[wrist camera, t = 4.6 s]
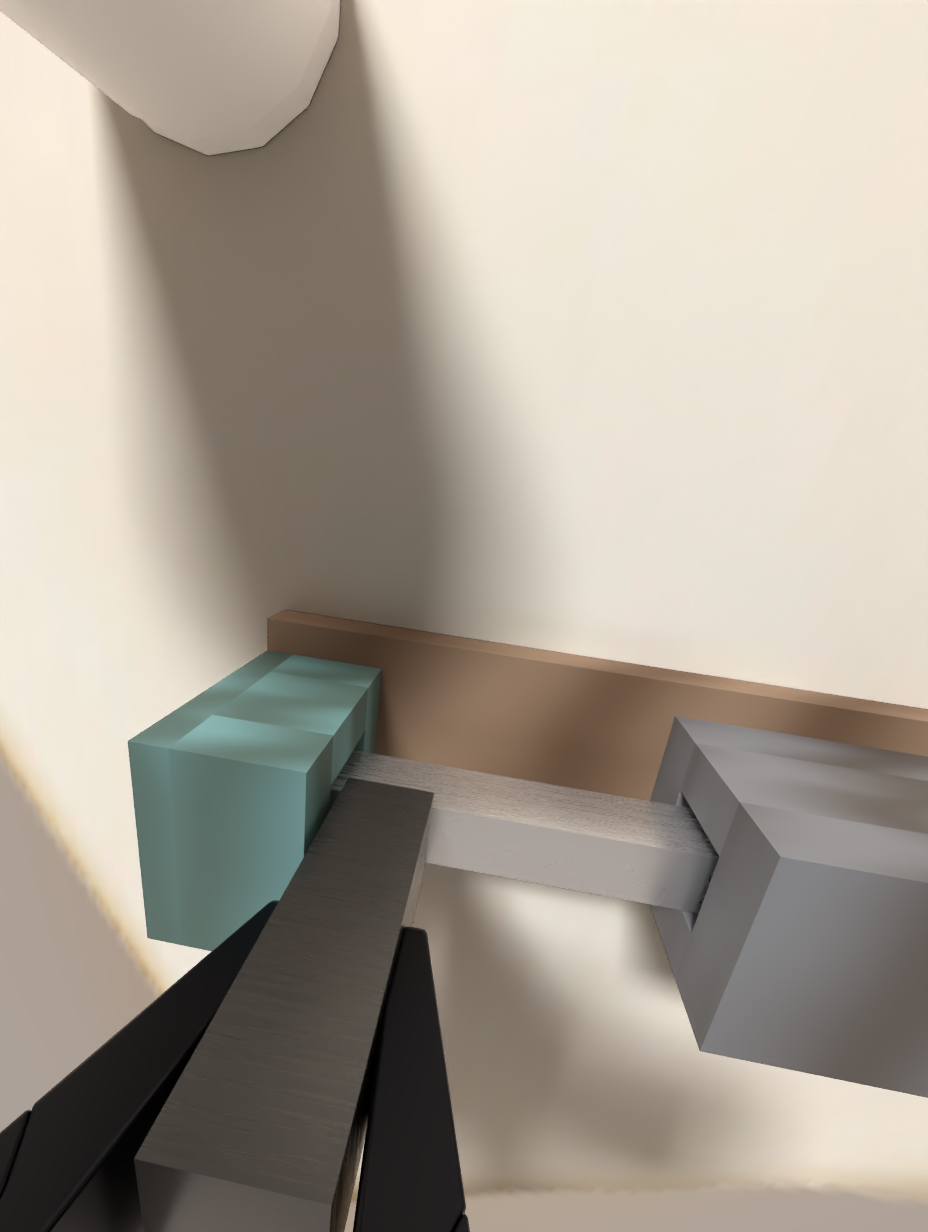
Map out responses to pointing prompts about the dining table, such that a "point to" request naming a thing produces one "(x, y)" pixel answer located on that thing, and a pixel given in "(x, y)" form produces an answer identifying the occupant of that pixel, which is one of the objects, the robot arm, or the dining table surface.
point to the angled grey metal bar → (370, 978)
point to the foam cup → (193, 60)
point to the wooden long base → (599, 762)
